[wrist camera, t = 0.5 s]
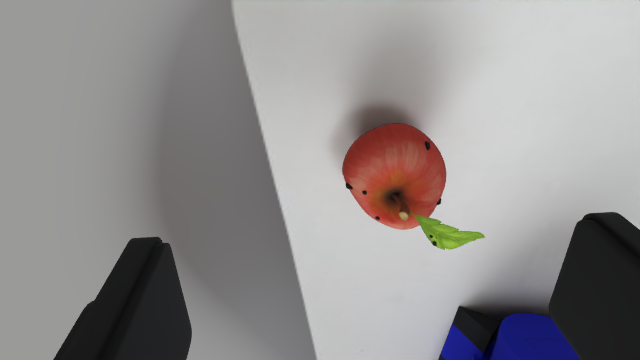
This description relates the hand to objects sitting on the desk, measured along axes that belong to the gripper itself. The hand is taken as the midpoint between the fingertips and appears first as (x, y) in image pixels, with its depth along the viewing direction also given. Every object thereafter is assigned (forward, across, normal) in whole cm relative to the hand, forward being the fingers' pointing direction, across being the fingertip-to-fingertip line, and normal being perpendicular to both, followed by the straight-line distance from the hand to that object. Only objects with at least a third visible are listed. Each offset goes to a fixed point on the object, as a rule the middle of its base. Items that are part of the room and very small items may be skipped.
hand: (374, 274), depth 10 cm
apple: (+21, -5, +6) cm, 22 cm away
